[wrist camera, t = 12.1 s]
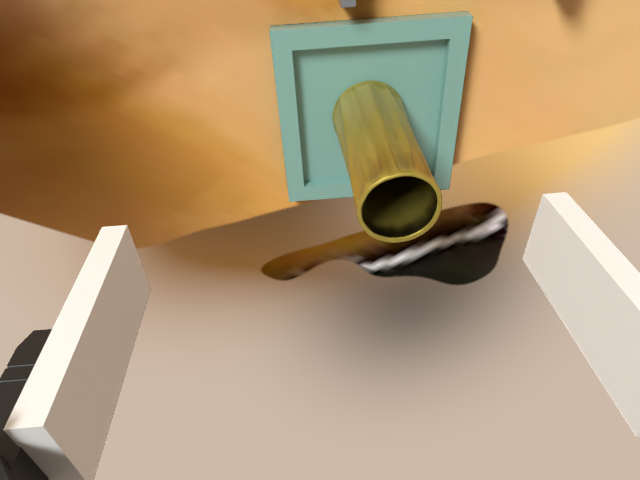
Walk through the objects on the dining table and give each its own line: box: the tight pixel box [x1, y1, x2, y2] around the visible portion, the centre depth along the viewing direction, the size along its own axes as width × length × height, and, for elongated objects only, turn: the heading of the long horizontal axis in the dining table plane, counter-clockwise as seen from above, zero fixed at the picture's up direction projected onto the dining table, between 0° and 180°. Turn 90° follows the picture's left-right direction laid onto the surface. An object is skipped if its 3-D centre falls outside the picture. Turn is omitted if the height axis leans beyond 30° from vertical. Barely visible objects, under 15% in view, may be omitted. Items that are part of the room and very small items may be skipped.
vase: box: [332, 80, 442, 242], centre depth 34 cm, size 6×6×14 cm
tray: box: [270, 11, 473, 202], centre depth 39 cm, size 15×15×2 cm
